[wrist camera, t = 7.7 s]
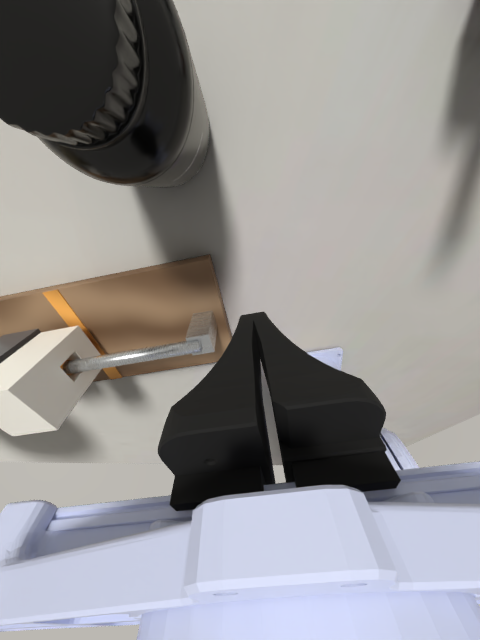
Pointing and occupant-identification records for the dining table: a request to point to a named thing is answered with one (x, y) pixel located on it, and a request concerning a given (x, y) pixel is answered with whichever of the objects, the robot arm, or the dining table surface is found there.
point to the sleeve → (43, 381)
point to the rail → (155, 348)
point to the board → (127, 312)
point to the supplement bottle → (105, 87)
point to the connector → (15, 342)
